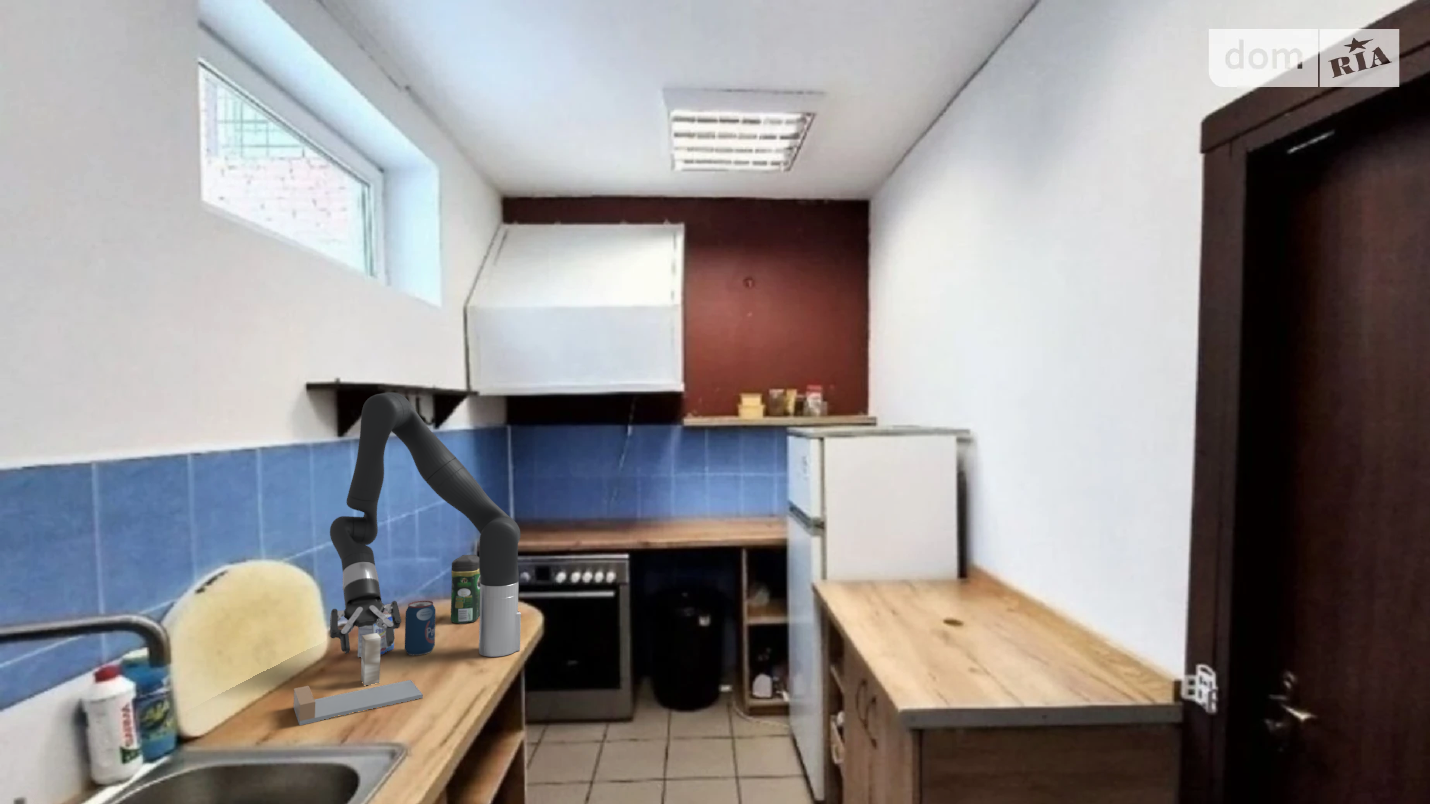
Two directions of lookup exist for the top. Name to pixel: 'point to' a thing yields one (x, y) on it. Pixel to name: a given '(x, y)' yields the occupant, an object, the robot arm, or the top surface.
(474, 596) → the coffee jar
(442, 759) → the top surface
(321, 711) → the underlay board
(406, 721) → the top surface
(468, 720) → the top surface
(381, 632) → the medicine box
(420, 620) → the soda can
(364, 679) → the beige long rectangular block
